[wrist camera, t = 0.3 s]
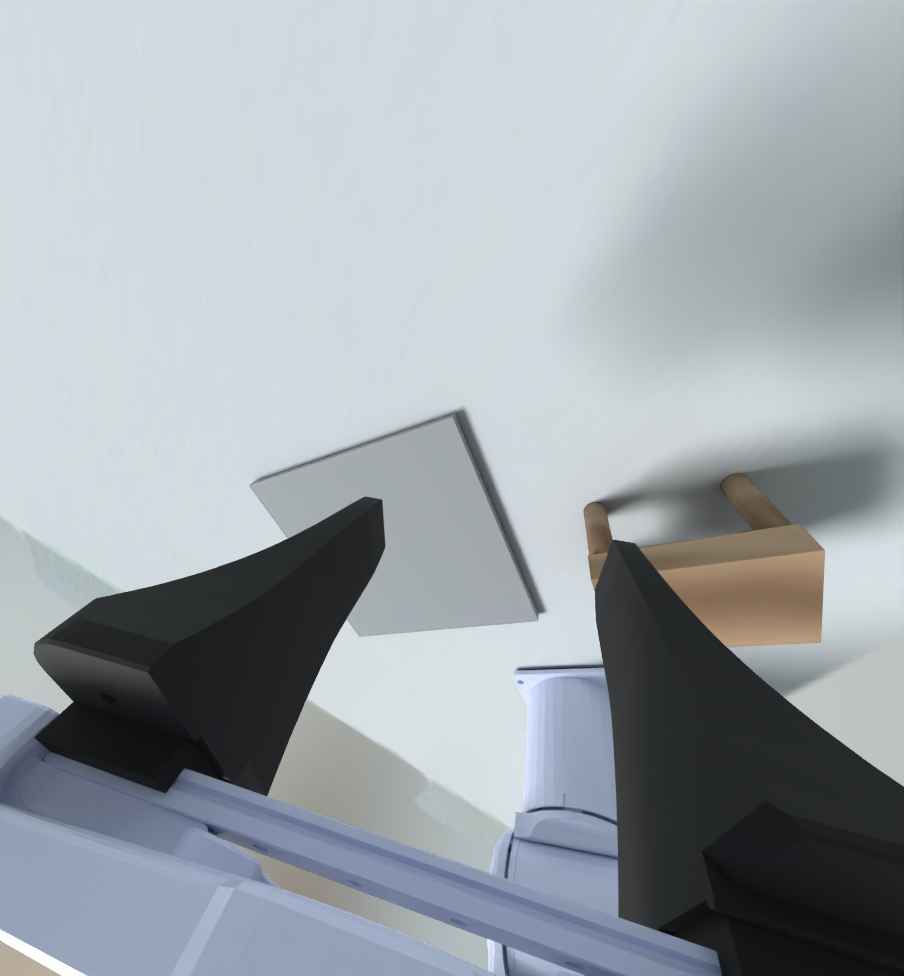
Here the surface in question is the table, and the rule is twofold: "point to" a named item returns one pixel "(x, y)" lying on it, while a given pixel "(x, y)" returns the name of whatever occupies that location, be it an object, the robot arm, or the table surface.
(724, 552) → the stool
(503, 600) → the mat
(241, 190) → the table surface
